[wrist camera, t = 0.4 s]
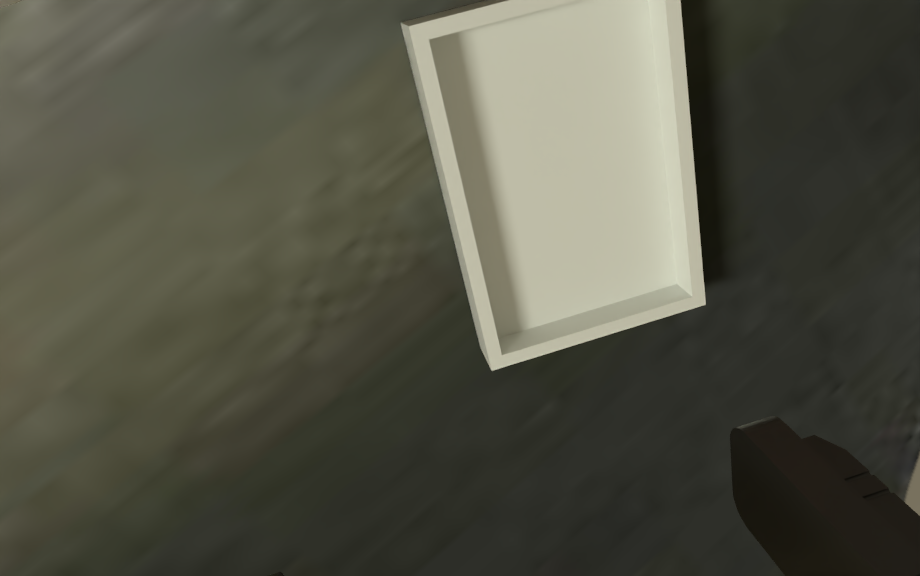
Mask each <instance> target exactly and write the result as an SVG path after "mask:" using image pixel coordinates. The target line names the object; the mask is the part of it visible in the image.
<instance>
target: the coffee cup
mask: <svg viewBox="0 0 920 576" xmlns="http://www.w3.org/2000/svg"><path fill="white" fill-rule="evenodd" d="M20 1H22V0H0V8H1V7H5V6H8V5H12V4H14V3H17V2H20Z"/></svg>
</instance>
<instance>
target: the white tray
mask: <svg viewBox="0 0 920 576" xmlns="http://www.w3.org/2000/svg"><path fill="white" fill-rule="evenodd" d="M400 23H401V27H402V31H403V35H404V39H405V43H406V47H407V52H408V56H409V60H410V64H411V68H412V72H413V76H414V80H415V84H416V88H417V92H418V96H419V100H420V104H421V109H422V113H423V117H424V121H425V125H426V129H427V133H428V137H429V141H430V145H431V149H432V153H433V157H434V161H435V165H436V170H437V174H438V178H439V182H440V186H441V190H442V194H443V198H444V202H445V206H446V210H447V214H448V218H449V222H450V227H451V231H452V235H453V239H454V243H455V247H456V251H457V255H458V259H459V263H460V267H461V271H462V275H463V279H464V283H465V288H466V292H467V296H468V300H469V304H470V308H471V312H472V316H473V320H474V324H475V328H476V332H477V336H478V340H479V345H480V348H481V350H482V352H483V354H484V356H485V358H486V360H487V362H488V364H489V366H490V368H491V370H496V369H499V368H502V367H505V366H509V365H512V364H515V363H518V362H522V361H525V360H528V359H531V358H535V357H538V356H541V355H544V354H548V353H551V352H554V351H557V350H560V349H564V348H567V347H570V346H573V345H577V344H580V343H583V342H586V341H590V340H593V339H596V338H599V337H603V336H606V335H609V334H612V333H615V332H619V331H622V330H625V329H628V328H632V327H635V326H638V325H641V324H645V323H648V322H651V321H654V320H658V319H661V318H664V317H667V316H670V315H674V314H677V313H680V312H683V311H687V310H690V309H693V308H696V307H700V306H703V305H706V301H705V289H704V277H703V265H702V253H701V241H700V229H699V217H698V205H697V193H696V181H695V169H694V157H693V145H692V133H691V121H690V109H689V96H688V84H687V72H686V60H685V48H684V36H683V24H682V12H681V0H484V1H481V2H477V3H473V4H469V5H465V6H461V7H457V8H454V9H450V10H446V11H442V12H438V13H434V14H430V15H427V16H423V17H419V18H415V19H411V20H407V21H404V22H400Z"/></svg>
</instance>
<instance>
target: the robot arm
mask: <svg viewBox="0 0 920 576" xmlns="http://www.w3.org/2000/svg"><path fill="white" fill-rule="evenodd" d="M730 445H731V466H732V487H733V497H734V501H735V504H736V507H737V510H738V512H739V514H740V516H741V518H742V520H743V522H744V524H745V525H746V527H747V528H748V529H749V531H750V532H751V533H752V535H753V536H754V537H755V538H756V540H757V541H758V542H759V543H760V545H761V546H762V547H763V548H764V550H765V551H766V552H767V553H768V555H769V556H770V557H771V559H772V560H773V561H774V562H775V564H776V565H777V566H778V567H779V569H780V570H781V571H782V572H783V574H784V575H785V576H920V516H919V515H918V514H917V513H916V512H915V511H913V510H912V509H911V508H910V507H909V506H908V505H907V504H906V503H905V502H903V501H902V500H901V499H900V498H899V497H898V496H897V495H896V494H894V493H890V491H889V489H888V487H887V486H886V485H884V484H883V483H882V482H881V481H880V480H879V479H878V478H877V477H876V476H874V475H871V474H870V473H869V470H868V469H867V468H865V467H864V466H863V465H862V464H861V463H860V462H859V461H858V460H857V459H855V458H854V457H853V456H852V455H851V454H850V453H849V452H848V451H847V450H845V449H843V448H841V447H839V446H837V445H835V444H832V443H830V442H828V441H826V440H824V439H822V438H820V437H818V436H815V435H813V436H810V437H807V438H804V439H801V438H800V437H799V436H798V435H797V434H796V433H795V432H794V431H793V430H792V429H791V428H790V427H789V426H787V425H786V424H785V423H784V422H783V421H782V420H781V419H779V418H778V417H775V416H771V417H768V418H764V419H761V420H758V421H755V422H752V423H749V424H746V425H743V426H739V427H736V428H734V429H732V431H731V434H730ZM269 576H284V575H283V574H282V573H281V572H278V573H275V574H272V575H269Z"/></svg>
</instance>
